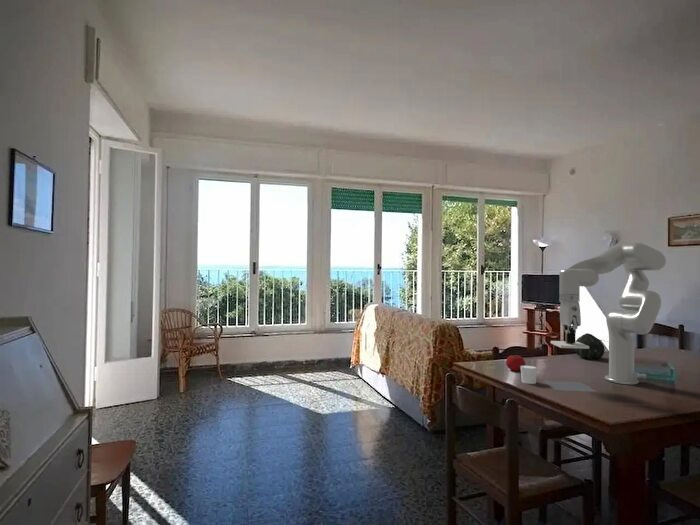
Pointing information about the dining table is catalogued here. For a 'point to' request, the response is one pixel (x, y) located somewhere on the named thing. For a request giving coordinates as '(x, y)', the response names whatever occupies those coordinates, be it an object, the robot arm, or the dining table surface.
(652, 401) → the dining table surface
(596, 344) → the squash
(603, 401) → the dining table surface
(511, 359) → the tomato
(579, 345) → the lid
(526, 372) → the white cylinder
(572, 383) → the mat
